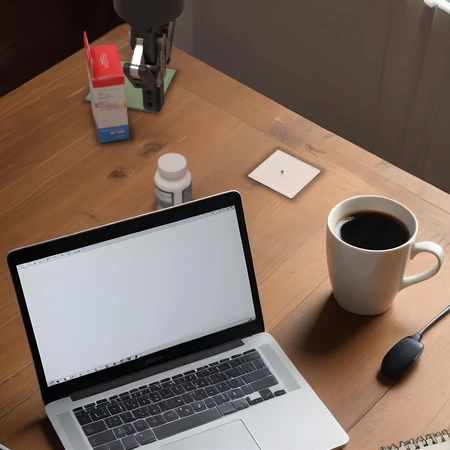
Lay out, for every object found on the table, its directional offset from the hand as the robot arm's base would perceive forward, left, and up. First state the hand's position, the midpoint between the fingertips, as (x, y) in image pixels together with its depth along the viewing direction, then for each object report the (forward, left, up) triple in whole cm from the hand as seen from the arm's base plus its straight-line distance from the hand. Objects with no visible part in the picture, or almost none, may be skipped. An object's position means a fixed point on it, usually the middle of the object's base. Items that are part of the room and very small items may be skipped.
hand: (153, 107), depth 99 cm
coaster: (+14, +19, -23) cm, 33 cm away
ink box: (-15, +23, -23) cm, 36 cm away
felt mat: (-15, +34, -23) cm, 44 cm away
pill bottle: (0, +7, -23) cm, 24 cm away
